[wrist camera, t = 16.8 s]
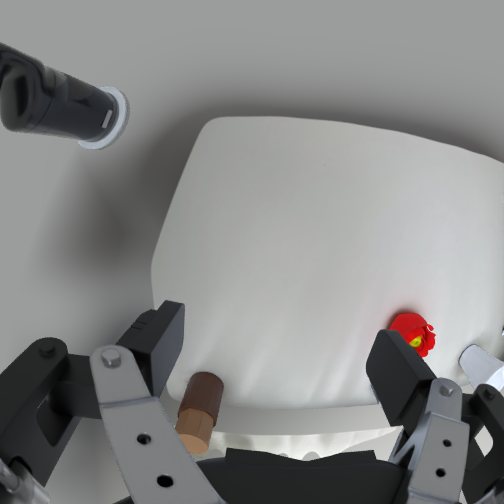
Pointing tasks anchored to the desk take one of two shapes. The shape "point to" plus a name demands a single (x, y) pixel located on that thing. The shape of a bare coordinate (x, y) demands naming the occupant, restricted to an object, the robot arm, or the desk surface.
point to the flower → (415, 332)
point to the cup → (482, 368)
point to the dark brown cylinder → (203, 394)
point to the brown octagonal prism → (195, 430)
